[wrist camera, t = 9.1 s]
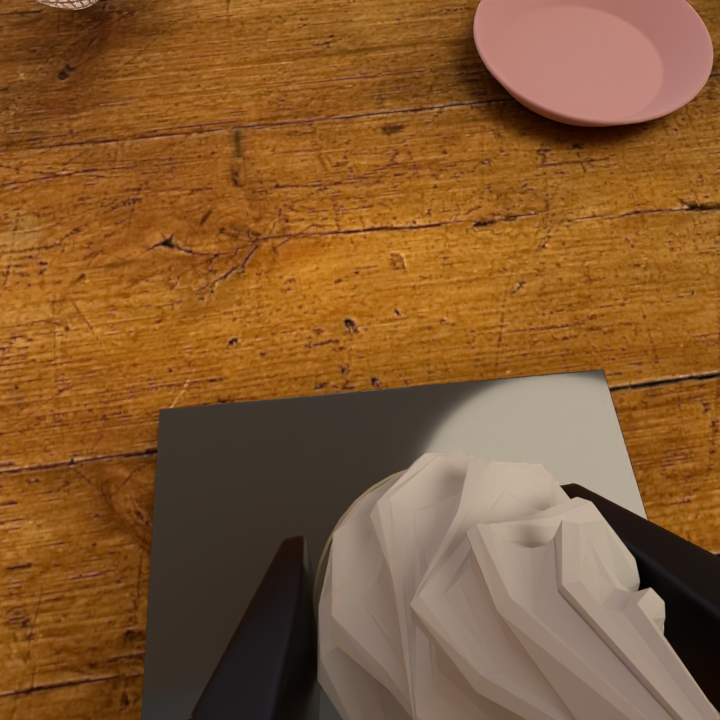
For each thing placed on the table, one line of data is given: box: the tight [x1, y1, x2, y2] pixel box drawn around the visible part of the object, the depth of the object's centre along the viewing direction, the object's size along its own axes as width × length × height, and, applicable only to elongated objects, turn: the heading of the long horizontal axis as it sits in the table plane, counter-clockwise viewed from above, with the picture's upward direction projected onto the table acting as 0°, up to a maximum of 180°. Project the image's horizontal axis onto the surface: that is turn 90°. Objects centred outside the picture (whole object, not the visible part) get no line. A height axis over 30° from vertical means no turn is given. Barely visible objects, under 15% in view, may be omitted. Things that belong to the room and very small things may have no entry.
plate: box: [473, 0, 713, 127], centre depth 28 cm, size 14×14×2 cm
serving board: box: [141, 369, 648, 720], centre depth 19 cm, size 14×20×2 cm
